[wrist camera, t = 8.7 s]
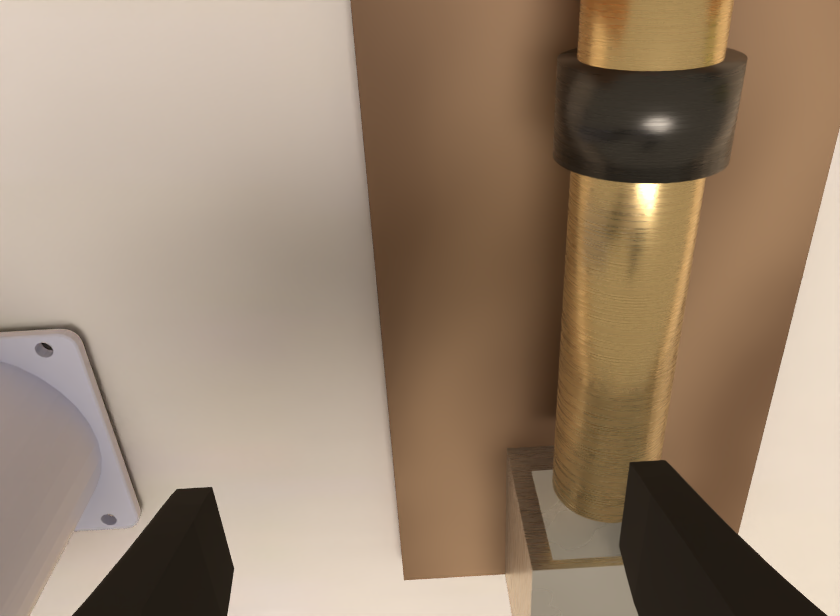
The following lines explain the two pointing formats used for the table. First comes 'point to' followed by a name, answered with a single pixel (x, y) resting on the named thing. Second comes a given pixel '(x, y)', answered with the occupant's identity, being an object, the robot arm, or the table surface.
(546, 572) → the outer sleeve
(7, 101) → the table surface
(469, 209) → the base board
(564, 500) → the inner tube
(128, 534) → the table surface
